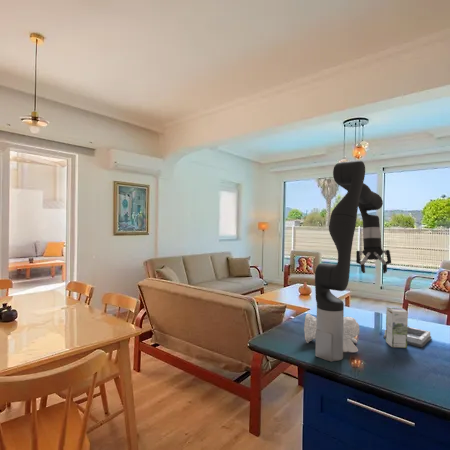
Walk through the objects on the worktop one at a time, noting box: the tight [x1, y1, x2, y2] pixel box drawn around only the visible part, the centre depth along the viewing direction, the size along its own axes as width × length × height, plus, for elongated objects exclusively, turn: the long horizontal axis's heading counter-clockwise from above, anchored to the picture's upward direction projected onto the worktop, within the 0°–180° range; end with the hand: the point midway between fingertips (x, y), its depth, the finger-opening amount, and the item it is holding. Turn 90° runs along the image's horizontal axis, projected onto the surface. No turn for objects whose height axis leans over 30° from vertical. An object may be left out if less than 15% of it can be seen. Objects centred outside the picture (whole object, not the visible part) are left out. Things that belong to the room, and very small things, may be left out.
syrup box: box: [385, 306, 409, 349], centre depth 120 cm, size 6×6×14 cm
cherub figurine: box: [303, 313, 360, 353], centre depth 121 cm, size 13×12×20 cm
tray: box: [383, 326, 432, 348], centre depth 128 cm, size 14×14×3 cm
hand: (374, 273), depth 138 cm, fingers open, 8 cm apart
